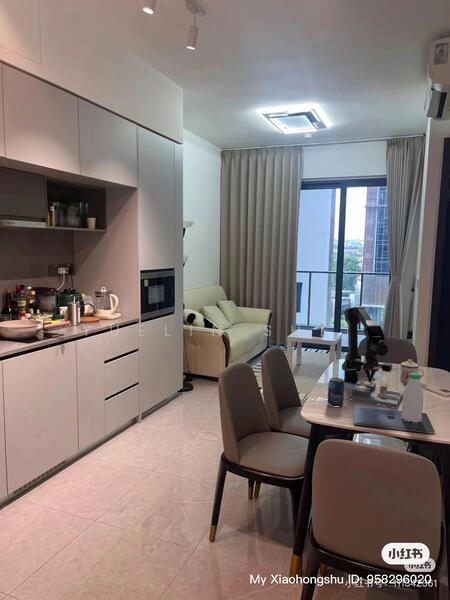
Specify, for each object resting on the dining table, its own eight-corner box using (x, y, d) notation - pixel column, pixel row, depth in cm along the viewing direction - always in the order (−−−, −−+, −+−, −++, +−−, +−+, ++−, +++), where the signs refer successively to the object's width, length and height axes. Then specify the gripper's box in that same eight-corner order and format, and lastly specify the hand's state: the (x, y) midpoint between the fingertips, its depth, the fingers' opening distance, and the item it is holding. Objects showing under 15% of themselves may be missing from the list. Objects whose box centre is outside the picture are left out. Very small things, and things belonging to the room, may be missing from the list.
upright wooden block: (379, 394, 204) (380, 385, 203) (381, 392, 208) (382, 383, 208) (385, 395, 203) (385, 386, 202) (387, 392, 207) (387, 384, 206)
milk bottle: (420, 425, 174) (423, 377, 172) (399, 421, 178) (403, 374, 176) (422, 419, 181) (426, 373, 179) (403, 415, 185) (406, 370, 183)
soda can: (331, 408, 191) (332, 382, 190) (324, 402, 198) (326, 377, 197) (345, 407, 193) (347, 381, 191) (338, 402, 200) (340, 377, 198)
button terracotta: (361, 388, 214) (361, 383, 213) (362, 386, 218) (363, 381, 217) (370, 390, 212) (370, 385, 211) (371, 387, 215) (372, 382, 215)
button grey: (355, 392, 204) (356, 387, 204) (358, 390, 208) (358, 385, 208) (365, 394, 202) (365, 389, 202) (367, 391, 206) (367, 386, 205)
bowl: (351, 368, 258) (352, 354, 257) (378, 373, 249) (379, 358, 248) (341, 374, 245) (342, 359, 244) (370, 379, 236) (371, 364, 235)
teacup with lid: (398, 381, 233) (400, 360, 232) (400, 377, 242) (401, 356, 240) (423, 385, 228) (424, 363, 227) (423, 380, 236) (425, 359, 235)
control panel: (349, 399, 203) (349, 390, 203) (358, 388, 220) (359, 379, 220) (396, 408, 193) (397, 398, 192) (402, 395, 210) (403, 386, 210)
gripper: (347, 351, 204) (346, 383, 206) (389, 357, 195) (387, 390, 197) (353, 346, 214) (351, 377, 215) (393, 352, 204) (391, 383, 206)
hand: (369, 382), depth 208 cm, fingers closed
